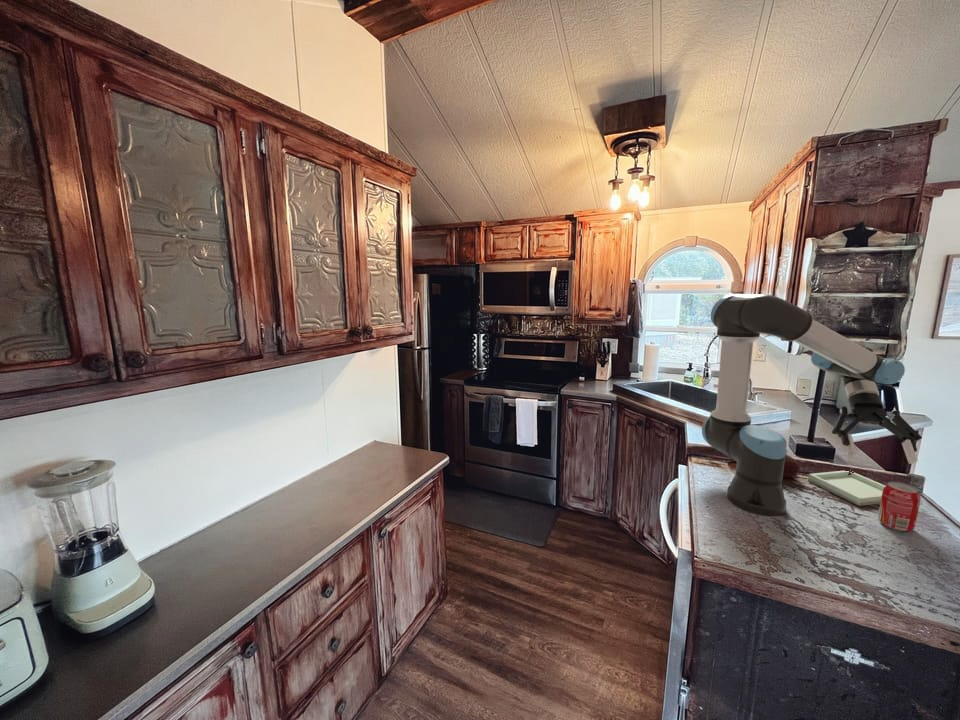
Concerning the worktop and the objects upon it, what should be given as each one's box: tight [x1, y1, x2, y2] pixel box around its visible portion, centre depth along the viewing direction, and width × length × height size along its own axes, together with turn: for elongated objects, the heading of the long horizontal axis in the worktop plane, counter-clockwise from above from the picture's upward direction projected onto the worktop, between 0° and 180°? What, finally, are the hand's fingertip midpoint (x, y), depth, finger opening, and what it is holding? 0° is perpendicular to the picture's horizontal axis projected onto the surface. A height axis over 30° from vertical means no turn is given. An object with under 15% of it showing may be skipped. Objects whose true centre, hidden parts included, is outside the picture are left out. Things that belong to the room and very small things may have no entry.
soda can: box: [878, 481, 921, 532], centre depth 105 cm, size 7×7×12 cm
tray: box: [807, 470, 886, 507], centre depth 125 cm, size 16×16×2 cm
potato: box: [783, 454, 801, 478], centre depth 135 cm, size 12×11×8 cm
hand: (882, 458), depth 113 cm, fingers open, 13 cm apart
